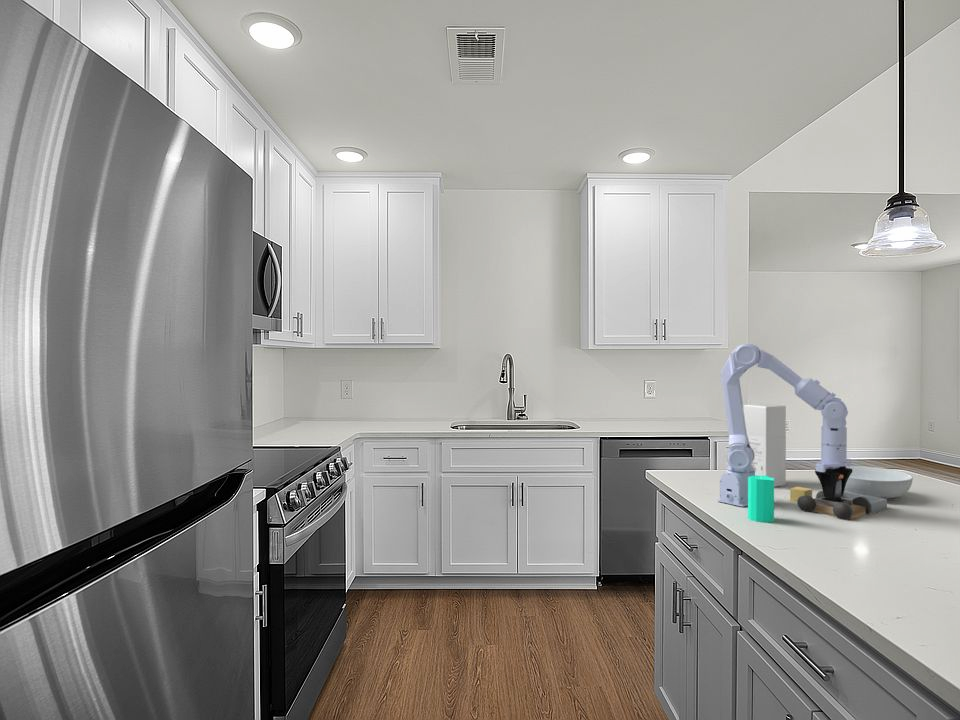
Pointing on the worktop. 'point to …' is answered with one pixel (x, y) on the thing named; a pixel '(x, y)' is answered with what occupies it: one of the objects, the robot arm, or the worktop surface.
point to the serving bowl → (877, 482)
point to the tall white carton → (767, 440)
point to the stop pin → (837, 490)
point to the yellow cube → (799, 493)
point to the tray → (875, 502)
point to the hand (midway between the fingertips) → (833, 496)
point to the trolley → (835, 506)
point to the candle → (761, 498)
